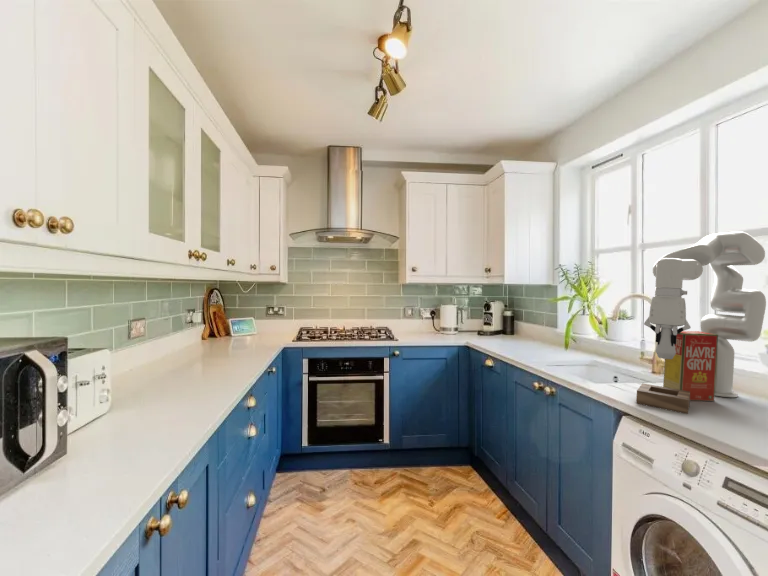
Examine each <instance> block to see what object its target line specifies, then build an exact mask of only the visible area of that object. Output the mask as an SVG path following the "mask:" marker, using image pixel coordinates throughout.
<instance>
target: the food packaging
mask: <svg viewBox="0 0 768 576" xmlns="http://www.w3.org/2000/svg"><path fill="white" fill-rule="evenodd" d="M672 332H673V330H672ZM717 344H718V335H717V334H712V333H706V332H701V331H699V330H698V331H697V330H695V331H694V330H693V331H692V330H691V331H690V330H684V331H682V332H680V333H679V334H677V338H676V344H675V350H676V354H675V355H674V357H673V359H664V365H663V366H664V367H663V368H664V370H663V386H662V387H667V388H673V389H678V390H684V391H690V402H691V401H692V402H715V396H714V395H715V376H716V360H717Z"/></svg>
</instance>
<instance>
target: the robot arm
mask: <svg viewBox="0 0 768 576" xmlns="http://www.w3.org/2000/svg"><path fill="white" fill-rule="evenodd" d="M765 258H766V250H765V248H764V246H763V244H761V242H759V241H758V240H757V239H756V238H755V237H754V236H752V235H750V233H747V232H744V231H729V232H717V233H716V232H715V233H711V234H709V235H706V236H704V237H702V238H701V239H700V240H699V241H698V242H696V243H695V244H693V245H691V246H689V247H684V248H682V249H678V250H675V251H673V252H670V253H667V254H664V255H663V256H662V257H660V258H659V259H658V260H657V261H656V262H655V263H654V265H652V266H653V267H652V275H653V276H654V278H655V287H654V288H655V289H654V291H655V292H654V296H652V298H651V302H650V308H649V315H648V317H647V318H646V320H645V321H644V323H643V324H644V326H646V327H648V328H650V329H651V330H652V331H653V332H654V333H655V343H658V345H659V343H660V338H661V334H660V331H661V327H660V325H670V326H672V327H673V329H672V331H673V333H672V335H671V346H673V344H676V338H677V334H679V333H680V332H682V331H688V330H690V329H691V325H690V324H689V322H688V320H687V307H686V304H687V303H686V299H685V297H683V296H687V295H688V290H684V289H683V281H694V280H697V279H699V278H700V277H701V276H702V274H703V272H704V266H707V265H709V266H710V268H711V270H712V272H713V276H714V283H713V286H712V292H711V295H710V302H709V303H710V304H709V305H710V308H711V309H712V310H713V311H716V312H719V313H712V314H706V315H705V316H703V317H702V318H701V320H700V326H699V327H700V332H706V333H712V334H717V335H718V344H717V360H716V376H715V395H714V397H723V398H737V397H738V396H739V394H738V392H736V391H734V390H733V388H734V370H735V369H734V368H735V349H734V347H733V345H732V344H731V343H730V342H729V340H731V341H739V342H740V341H741V342H749V343H750V342H751V343H752V342H755V341H758V339H760V336H761V334H762V330H763V323H764V318H765V313H766V307H767V299H766V295H765V293H763V292H762V291H760V290H758V289H749V288H747V289H746V288H743V284H744V277H743V275H742V274H741V272H740V271H738V269H736V268H735V267H734V266H756V265H759V264H761V263H762V262H763V261H764V260H765ZM720 313H728V314H720ZM732 314H744V315H732ZM678 327H679V328H678Z"/></svg>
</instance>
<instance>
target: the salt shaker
mask: <svg viewBox="0 0 768 576" xmlns="http://www.w3.org/2000/svg"><path fill="white" fill-rule="evenodd" d="M660 327H661V328H660V334H661V338H660V343H659V345H658V342H656V343H657V344H656V347H655V353H656V355H657V358H659V359H664V360H665V359H673V357H674V355H675V354H676V350H675V344H673V346H671V335H672V333H673V332H672V331H673V327H672V326H670V325H660Z"/></svg>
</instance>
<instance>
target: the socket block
mask: <svg viewBox="0 0 768 576" xmlns="http://www.w3.org/2000/svg"><path fill="white" fill-rule="evenodd" d="M635 401H636V403H638V404H637V405H641V404H642V406H646V405H647V406H646V407H652V408H655V407H656V408H657V409H660V408H661V410H665V409H667V410H666V411H670V410H672V411H671V412H675V411H676V412H677V413H680V412H681V414H685V415H688V414H689V409H690V403H691V401H690V391H684V390H678V389H673V388H667V387H663V386H660V385H653V384H648V383H642V384H641V385H640V386H639V387H638V388H637V390H636V400H635ZM676 412H675V413H676Z"/></svg>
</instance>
